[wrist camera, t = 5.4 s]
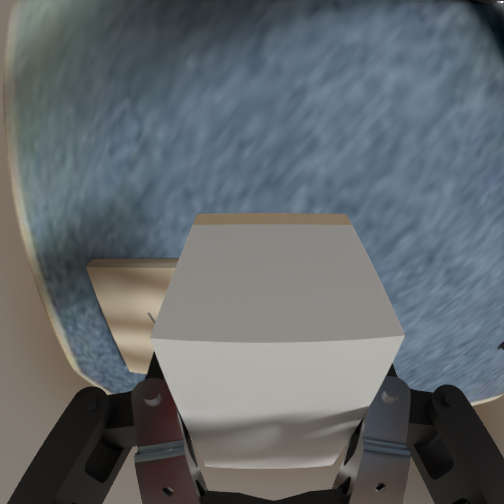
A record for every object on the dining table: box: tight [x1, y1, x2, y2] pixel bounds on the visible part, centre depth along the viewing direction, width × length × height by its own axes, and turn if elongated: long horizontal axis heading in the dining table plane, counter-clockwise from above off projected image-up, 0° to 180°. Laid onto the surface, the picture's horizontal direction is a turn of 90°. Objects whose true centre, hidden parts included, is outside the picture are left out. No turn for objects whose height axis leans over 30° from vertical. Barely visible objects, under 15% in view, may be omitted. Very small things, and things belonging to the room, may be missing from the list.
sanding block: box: [150, 213, 405, 469], centre depth 10 cm, size 8×5×6 cm, turn 1°
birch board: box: [86, 258, 179, 374], centre depth 31 cm, size 16×22×2 cm
